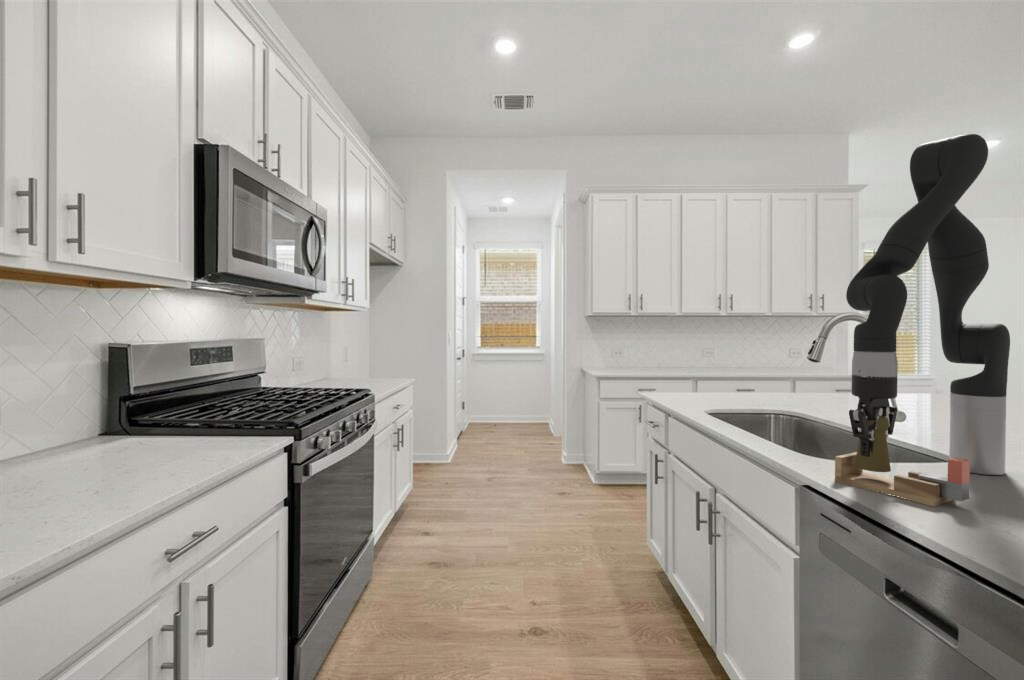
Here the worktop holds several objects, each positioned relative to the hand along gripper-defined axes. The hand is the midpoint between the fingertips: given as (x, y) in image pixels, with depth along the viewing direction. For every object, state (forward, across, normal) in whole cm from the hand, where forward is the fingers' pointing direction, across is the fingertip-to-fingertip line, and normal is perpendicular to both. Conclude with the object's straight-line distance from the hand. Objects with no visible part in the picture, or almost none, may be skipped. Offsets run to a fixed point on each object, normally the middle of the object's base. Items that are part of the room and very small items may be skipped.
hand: (872, 457), depth 100 cm
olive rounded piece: (+2, 0, 0) cm, 2 cm away
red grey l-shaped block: (+4, 0, +12) cm, 12 cm away
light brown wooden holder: (+6, 0, +3) cm, 7 cm away
